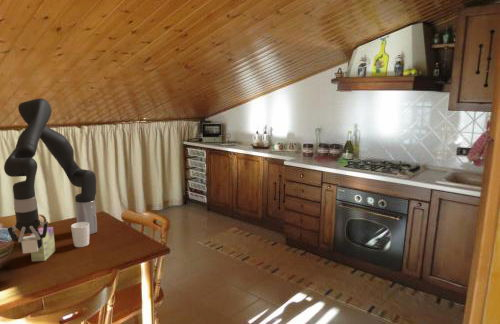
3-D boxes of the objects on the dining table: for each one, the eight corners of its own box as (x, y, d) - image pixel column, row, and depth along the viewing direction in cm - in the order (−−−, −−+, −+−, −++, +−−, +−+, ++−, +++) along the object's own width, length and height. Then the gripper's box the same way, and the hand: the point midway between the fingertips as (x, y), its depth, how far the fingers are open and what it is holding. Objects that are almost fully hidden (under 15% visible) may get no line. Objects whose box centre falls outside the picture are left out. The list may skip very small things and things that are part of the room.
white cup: (94, 242, 176) (92, 223, 174) (81, 249, 169) (80, 228, 167) (81, 240, 179) (80, 221, 177) (68, 246, 171) (67, 226, 169)
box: (42, 251, 166) (40, 226, 163) (55, 251, 166) (53, 226, 164) (31, 261, 156) (28, 236, 153) (44, 261, 156) (42, 235, 154)
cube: (39, 246, 147) (38, 234, 146) (37, 251, 143) (36, 239, 141) (25, 248, 145) (23, 236, 144) (22, 253, 141) (21, 241, 140)
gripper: (48, 203, 146) (52, 242, 150) (6, 207, 141) (12, 247, 144) (45, 209, 139) (50, 250, 143) (2, 213, 134) (7, 255, 138)
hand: (31, 248), depth 144 cm, fingers closed on cube, 5 cm apart
